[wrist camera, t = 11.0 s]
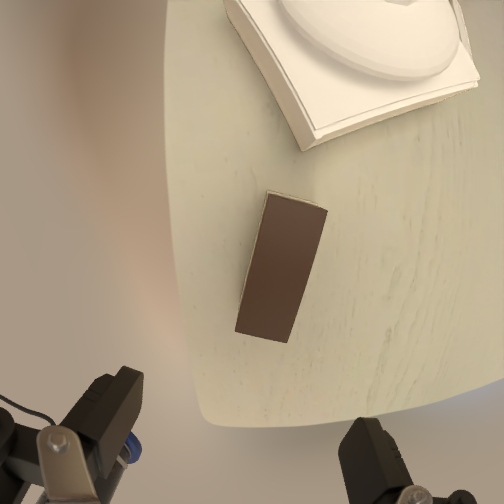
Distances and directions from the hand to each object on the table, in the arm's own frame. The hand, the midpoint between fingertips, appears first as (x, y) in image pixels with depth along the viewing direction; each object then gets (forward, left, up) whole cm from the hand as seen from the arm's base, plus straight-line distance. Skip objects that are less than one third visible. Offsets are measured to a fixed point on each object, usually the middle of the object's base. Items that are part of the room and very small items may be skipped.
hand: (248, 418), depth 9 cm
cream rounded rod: (+18, +35, -21) cm, 45 cm away
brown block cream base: (+1, +1, -21) cm, 21 cm away
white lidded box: (+2, +24, -21) cm, 32 cm away
